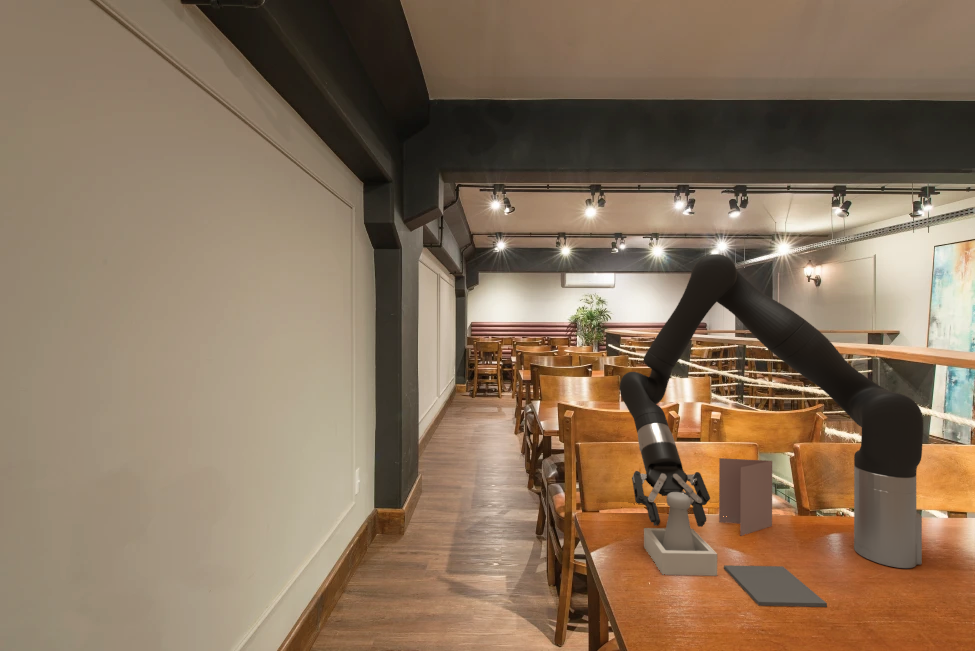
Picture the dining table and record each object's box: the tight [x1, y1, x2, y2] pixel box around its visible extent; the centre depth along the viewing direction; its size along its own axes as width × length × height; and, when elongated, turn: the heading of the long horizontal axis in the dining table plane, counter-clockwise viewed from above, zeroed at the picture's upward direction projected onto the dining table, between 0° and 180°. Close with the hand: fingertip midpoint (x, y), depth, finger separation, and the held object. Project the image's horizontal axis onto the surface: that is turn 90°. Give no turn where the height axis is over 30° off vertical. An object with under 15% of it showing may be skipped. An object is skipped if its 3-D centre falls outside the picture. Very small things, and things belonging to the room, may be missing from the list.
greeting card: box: [718, 457, 773, 537], centre depth 99 cm, size 11×7×15 cm, turn 81°
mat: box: [723, 565, 828, 608], centre depth 77 cm, size 11×11×1 cm
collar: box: [643, 527, 718, 577], centre depth 85 cm, size 10×10×4 cm
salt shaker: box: [663, 492, 695, 551], centre depth 85 cm, size 6×6×13 cm
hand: (679, 524), depth 85 cm, fingers open, 8 cm apart
